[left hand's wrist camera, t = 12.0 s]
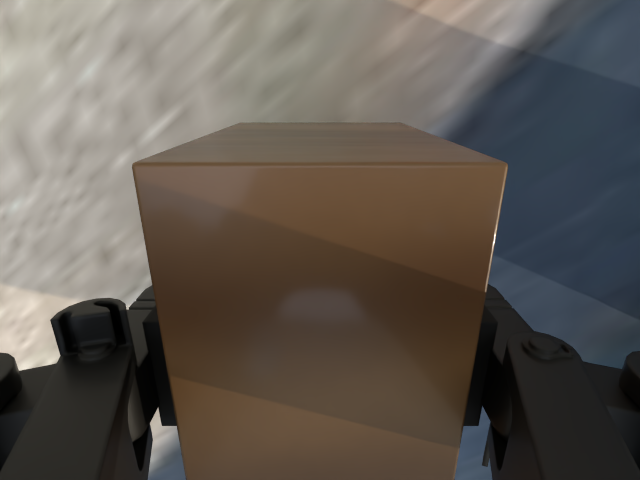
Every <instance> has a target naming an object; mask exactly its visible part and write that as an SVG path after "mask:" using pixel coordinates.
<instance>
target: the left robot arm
mask: <svg viewBox="0 0 640 480" xmlns="http://www.w3.org/2000/svg"><path fill="white" fill-rule="evenodd" d="M50 321H51V324H52V328H53V331H54V335H55V338H56V342H57V345H58V348H59V352H60V355H61V356H60V358H59V360H58V362H57V363H56V364H52V365H47V366H42V367H37V368H32V369H27V370H21V371H19V370H18V367H17V364H16V361H15V358H14V357H12V356H11V355H9V354H7V353H0V480H148V472H149V465H150V457H151V449H152V441H153V438H152V432H151V427H150V422H151V420H152V418H153V416H154V414H155V412H156V410H157V408H159V413H160V418H161V423H162V426H177V424H176V418H175V412H174V406H173V401H172V395H171V389H170V383H169V378H168V372H167V366H166V360H165V354H164V349H163V343H162V337H161V331H160V326H159V320H158V314H157V308H156V302H155V297H154V291H153V285H152V286H150V287H149V288H147V289H145V290H144V291H143V293H142V294H141V295H140V296H139V297H138V298H137V299H136V301H135V302H134V303H133V304H132V305H131V306H130V307H129V310H126V305H125V303H123V302H122V301H120V300H118V299H112V298H98V299H92V300H87V301H83V302H80V303H77V304H74V305H71V306H69V307H67V308H65V309H63V310H62V311H60V312H58V313H57V314H56V315H55V316H54V317H53V318H52V319H51V320H50ZM482 406H483V407H484V409H485V411H486V413H487V415H488V417H489V419H490V421H491V422H490V427H489V432H488V436H487V441H486V446H485V451H484V456H483V462H482V466H486V467H488V462H489V458H490V464H491V471H492V479H493V480H640V351H636V352H632V353H630V354H629V355H628V356H627V357H626V360H625V363H624V365H623V368H622V369H618V368H613V367H607V366H602V365H597V364H592V363H587V362H583V361H582V359H581V357H580V355H579V354H578V353H577V352H576V351H575V349H574V348H573V347H571V346H570V345H568V344H567V343H565V342H564V341H562V340H560V339H558V338H556V337H553V336H551V335H548V334H544V333H540V332H536V331H533V330H532V329H531V327H530V326H529V325H528V324H527V323H526V322H525V321H524V320H523V318H522V317H521V316H520V315H519V314H518V313H517V312H516V311H515V310H514V308H512V306H511V305H510V304H509V303H508V302H507V301H506V300H504V297H503V296H502V295H501V294H500V293H499V292H498V291H497V289H496V288H494V287H493V286H491V285H489V284H488V286H487V291H486V297H485V303H484V309H483V315H482V320H481V326H480V332H479V338H478V344H477V349H476V355H475V361H474V367H473V373H472V378H471V384H470V390H469V396H468V402H467V408H466V413H465V419H464V425H463V426H478V425H479V420H480V414H481V409H482Z"/></svg>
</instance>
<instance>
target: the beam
mask: <svg viewBox="0 0 640 480" xmlns="http://www.w3.org/2000/svg"><path fill="white" fill-rule="evenodd" d="M507 169H508V165H507V163H505V162H503V161H500V160H498V159H495V158H492V157H490V156H487V155H485V154H482V153H479V152H477V151H474V150H471V149H469V148H466V147H463V146H461V145H458V144H455V143H453V142H450V141H447V140H445V139H442V138H439V137H437V136H434V135H432V134H429V133H426V132H424V131H421V130H418V129H416V128H413V127H410V126H408V125H405V124H402V123H238V124H236V125H233V126H230V127H228V128H225V129H222V130H220V131H217V132H214V133H212V134H209V135H206V136H204V137H201V138H198V139H196V140H193V141H190V142H188V143H185V144H182V145H180V146H177V147H174V148H172V149H169V150H166V151H164V152H161V153H158V154H156V155H153V156H150V157H148V158H145V159H142V160H140V161H137V162H135V163H133V165H132V170H133V175H134V181H135V187H136V193H137V198H138V204H139V210H140V216H141V222H142V227H143V233H144V239H145V245H146V250H147V256H148V262H149V268H150V274H151V279H152V285H153V291H154V297H155V302H156V308H157V314H158V320H159V326H160V331H161V337H162V343H163V349H164V354H165V360H166V366H167V372H168V378H169V383H170V389H171V395H172V401H173V406H174V412H175V418H176V424H177V430H178V435H179V441H180V447H181V453H182V458H183V464H184V470H185V476H186V480H454V477H455V471H456V466H457V460H458V454H459V448H460V442H461V437H462V431H463V425H464V419H465V413H466V408H467V402H468V396H469V390H470V384H471V378H472V373H473V367H474V361H475V355H476V349H477V344H478V338H479V332H480V326H481V320H482V315H483V309H484V303H485V297H486V291H487V286H488V280H489V274H490V268H491V262H492V257H493V251H494V245H495V239H496V233H497V228H498V222H499V216H500V210H501V204H502V199H503V193H504V187H505V181H506V175H507Z"/></svg>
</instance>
